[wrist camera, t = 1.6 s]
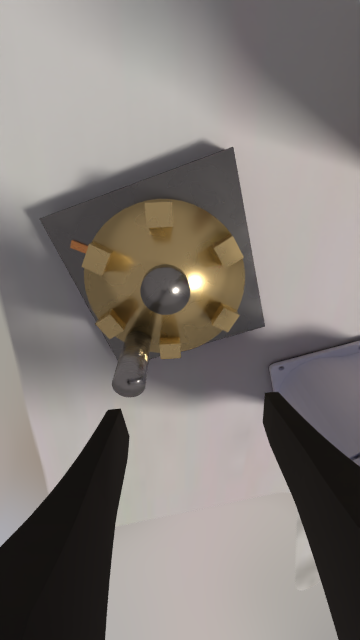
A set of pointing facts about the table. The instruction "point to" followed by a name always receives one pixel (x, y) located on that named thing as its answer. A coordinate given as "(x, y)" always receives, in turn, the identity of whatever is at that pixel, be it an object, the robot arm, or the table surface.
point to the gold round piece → (162, 283)
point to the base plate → (180, 183)
